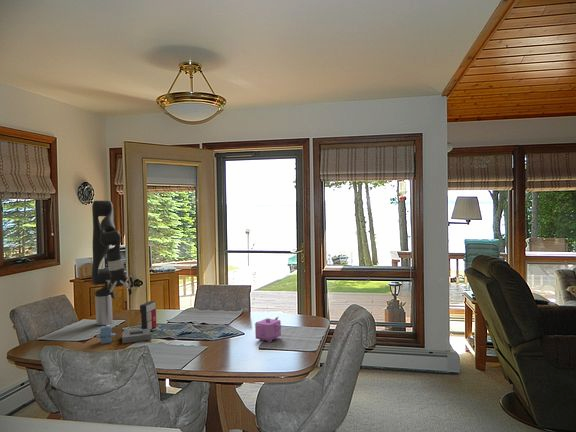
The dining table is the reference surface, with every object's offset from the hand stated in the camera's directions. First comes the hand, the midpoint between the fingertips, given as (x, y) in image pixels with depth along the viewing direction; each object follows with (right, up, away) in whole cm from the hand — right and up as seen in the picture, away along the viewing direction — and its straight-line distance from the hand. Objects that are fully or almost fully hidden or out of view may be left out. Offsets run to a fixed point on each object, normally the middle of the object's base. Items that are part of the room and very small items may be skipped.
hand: (121, 296), depth 243 cm
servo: (-5, -22, -10) cm, 24 cm away
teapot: (+80, -20, -13) cm, 84 cm away
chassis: (+10, -21, -5) cm, 24 cm away
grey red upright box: (+11, -21, +13) cm, 27 cm away
